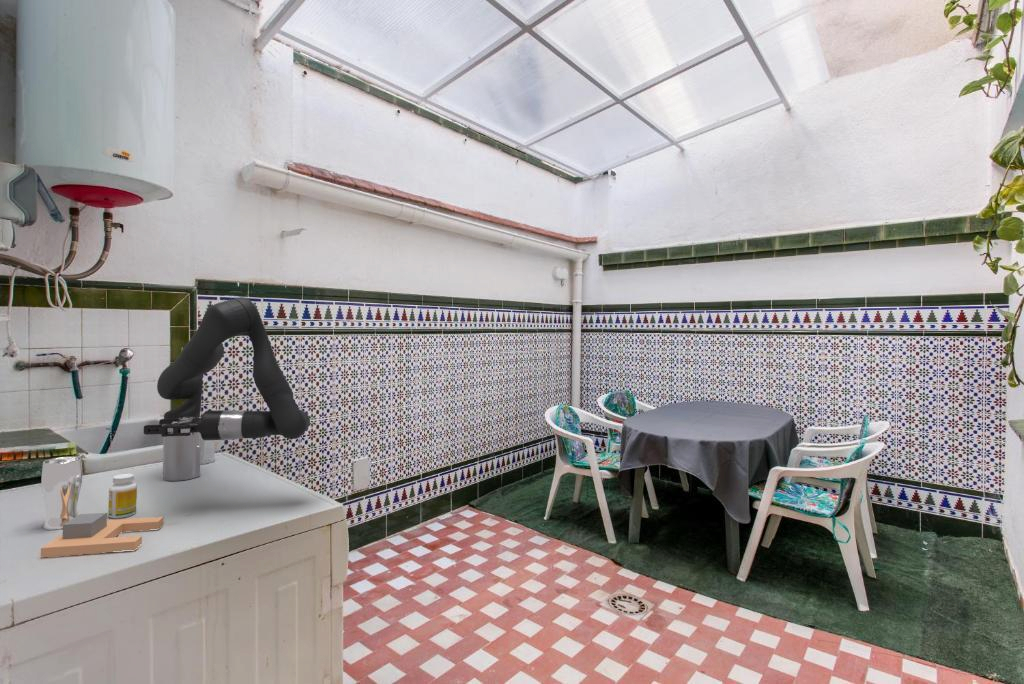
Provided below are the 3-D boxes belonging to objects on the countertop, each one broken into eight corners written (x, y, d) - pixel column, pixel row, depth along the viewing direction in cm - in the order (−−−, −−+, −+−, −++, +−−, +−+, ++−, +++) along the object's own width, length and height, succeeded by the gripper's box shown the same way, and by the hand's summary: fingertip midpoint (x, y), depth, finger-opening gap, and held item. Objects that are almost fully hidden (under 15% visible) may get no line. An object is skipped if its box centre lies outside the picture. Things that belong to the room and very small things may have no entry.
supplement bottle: (102, 518, 118) (103, 478, 118) (121, 510, 124) (121, 472, 123) (124, 519, 118) (124, 479, 118) (141, 511, 123) (142, 473, 123)
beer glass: (46, 533, 109) (47, 465, 109) (36, 526, 113) (37, 460, 112) (86, 523, 115) (87, 459, 115) (75, 517, 119) (76, 454, 118)
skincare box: (215, 461, 170) (215, 427, 170) (203, 464, 166) (204, 429, 166) (201, 459, 172) (202, 425, 172) (190, 462, 168) (191, 427, 168)
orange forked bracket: (163, 525, 115) (164, 503, 115) (135, 551, 102) (135, 527, 102) (81, 530, 111) (82, 508, 111) (40, 558, 98) (41, 533, 98)
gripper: (233, 406, 134) (164, 407, 130) (216, 414, 120) (138, 416, 116) (232, 434, 134) (164, 435, 130) (215, 445, 120) (138, 448, 116)
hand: (152, 426), depth 123 cm, fingers open, 8 cm apart
